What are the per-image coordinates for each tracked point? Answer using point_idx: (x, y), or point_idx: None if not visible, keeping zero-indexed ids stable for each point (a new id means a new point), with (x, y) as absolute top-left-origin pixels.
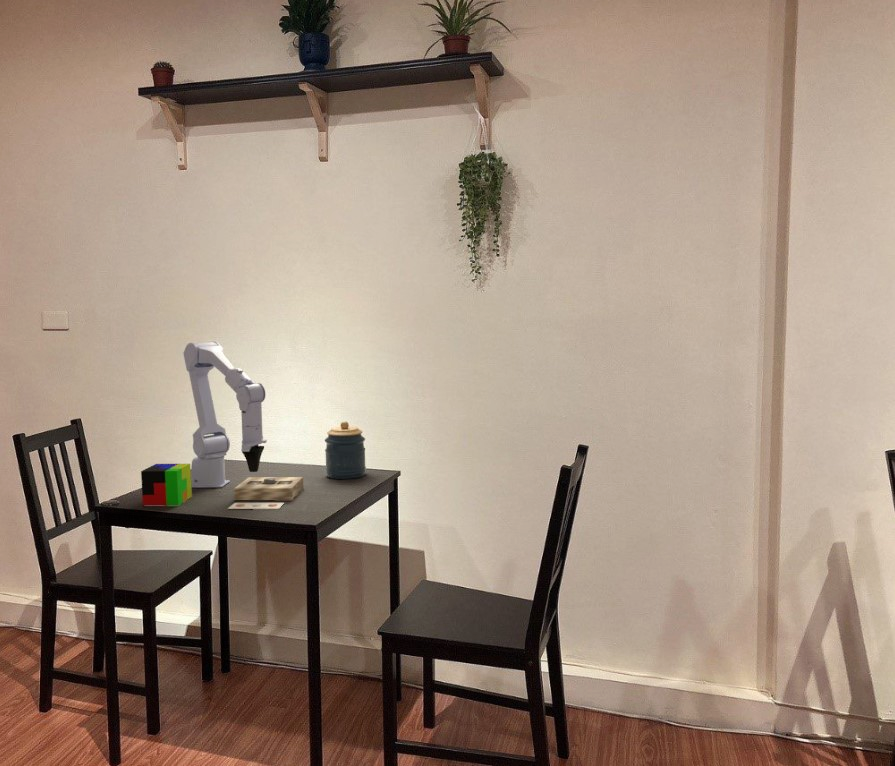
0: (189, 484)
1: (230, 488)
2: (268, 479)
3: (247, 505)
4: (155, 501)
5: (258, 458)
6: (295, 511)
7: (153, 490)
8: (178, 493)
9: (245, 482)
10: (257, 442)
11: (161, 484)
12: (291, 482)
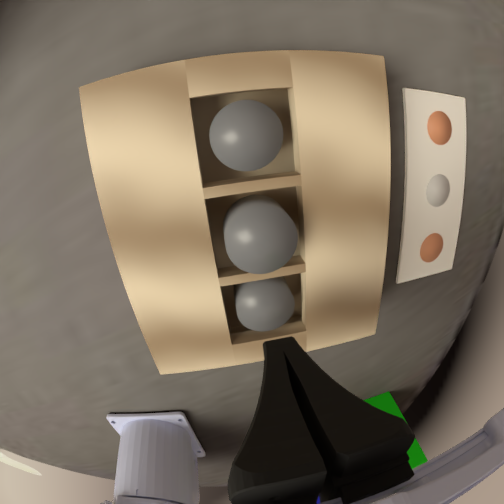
0: None
1: (178, 390)
2: (269, 244)
3: (434, 223)
4: None
5: (325, 394)
6: (470, 42)
7: None
8: (399, 415)
9: None
10: (453, 491)
11: None
12: (191, 111)
